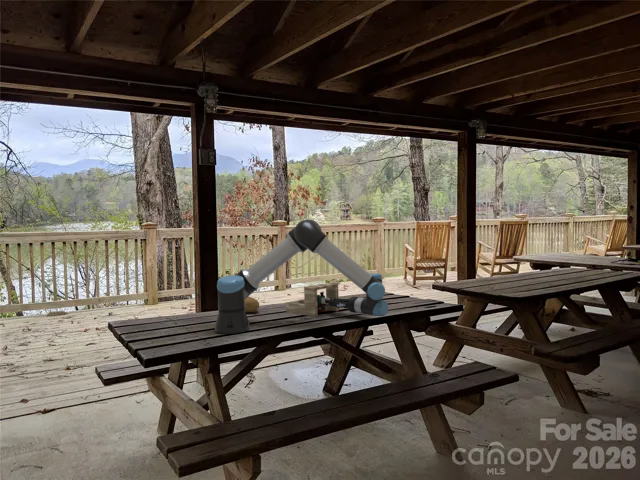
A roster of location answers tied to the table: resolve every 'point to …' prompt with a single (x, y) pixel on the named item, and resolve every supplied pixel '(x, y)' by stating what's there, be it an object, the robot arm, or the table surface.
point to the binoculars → (319, 302)
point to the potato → (251, 304)
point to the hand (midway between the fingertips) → (322, 300)
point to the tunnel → (313, 300)
